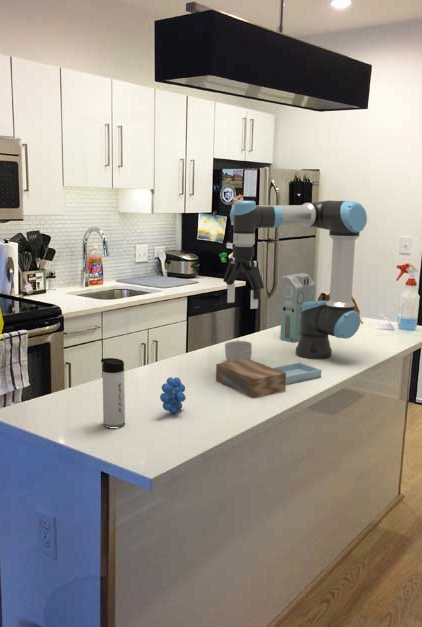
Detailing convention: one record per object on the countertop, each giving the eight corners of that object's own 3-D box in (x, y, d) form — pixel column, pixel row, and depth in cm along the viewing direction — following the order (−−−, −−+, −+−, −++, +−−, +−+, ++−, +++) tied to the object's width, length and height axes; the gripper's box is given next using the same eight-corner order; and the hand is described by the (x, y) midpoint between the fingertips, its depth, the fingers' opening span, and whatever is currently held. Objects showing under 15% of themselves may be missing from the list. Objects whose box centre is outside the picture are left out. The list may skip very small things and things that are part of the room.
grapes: (172, 421, 186) (172, 383, 184) (155, 417, 190) (154, 379, 187) (195, 410, 195) (195, 374, 193) (177, 406, 199) (178, 370, 197)
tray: (299, 369, 242) (299, 362, 242) (321, 377, 233) (321, 369, 232) (259, 377, 231) (259, 369, 231) (280, 386, 221) (280, 378, 221)
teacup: (249, 367, 245) (249, 347, 243) (222, 365, 247) (222, 345, 246) (253, 358, 258) (254, 339, 257) (228, 356, 261) (228, 337, 259)
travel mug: (103, 421, 186) (101, 356, 182) (125, 420, 186) (124, 356, 182) (101, 428, 180) (99, 362, 176) (124, 428, 180) (123, 361, 176)
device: (294, 342, 285) (296, 277, 280) (280, 340, 290) (282, 276, 284) (312, 336, 298) (315, 274, 292) (299, 334, 303) (301, 273, 297)
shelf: (246, 375, 234) (246, 358, 233) (285, 390, 216) (285, 373, 215) (216, 381, 226) (216, 363, 225) (253, 398, 208) (254, 379, 207)
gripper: (214, 243, 225) (213, 300, 230) (257, 248, 205) (255, 312, 209) (231, 242, 230) (230, 299, 234) (275, 248, 210) (273, 309, 214)
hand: (242, 305), depth 222 cm, fingers open, 13 cm apart
